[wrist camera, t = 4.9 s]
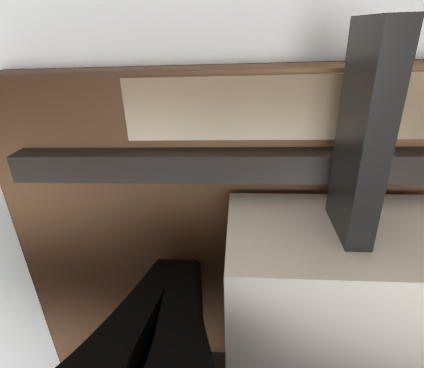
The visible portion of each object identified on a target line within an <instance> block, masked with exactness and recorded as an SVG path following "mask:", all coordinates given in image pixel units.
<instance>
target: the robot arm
mask: <svg viewBox="0 0 424 368" xmlns="http://www.w3.org/2000/svg"><path fill="white" fill-rule="evenodd" d="M55 368H216V366H215V362H214V359H213V356H212V352H211V348H210V345H209V341H208V337H207V333H206V329H205V324H204V320H203V299H202V282H201V266H200V263H199V262H198V261H197V260H181V259H158V260H157V261H156V262H155V263H154V264H153V265H152V266H151V268H150V269H149V270H148V271H147V273H146V274H145V275H144V276H143V278H142V279H141V280H140V281H139V282H138V284H137V285H136V286H135V287H134V288H133V289H132V291H131V292H130V293H129V294H128V295H127V296H126V298H125V299H124V300H123V301H122V302H121V303H120V304H119V305H118V306H117V308H116V309H115V310H114V311H113V312H112V313H111V314H110V315H109V316H108V317H107V318H106V319H105V320H104V321H103V323H102V324H101V325H100V326H99V327H98V328H97V329H96V330H95V331H94V332H93V333H92V334H91V335H90V336H89V337H88V338H87V339H86V340H85V341H84V342H83V343H82V344H81V345H80V346H78V347H77V348H76V349H75V350H74V351H73V352H72V353H71V354H70V355H69V356H68V357H67V358H66V359H64V360H63V361H62V362H61V363H60V364H59V365H58V366H57V367H55Z"/></svg>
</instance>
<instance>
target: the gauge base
mask: <svg viewBox="0 0 424 368" xmlns="http://www.w3.org/2000/svg"><path fill="white" fill-rule="evenodd" d="M344 66H345V61H327V62H287V63H247V64H207V65H167V66H126V67H86V68H46V69H6V70H0V186H1V189H2V192H3V195H4V198H5V201H6V204H7V207H8V210H9V213H10V216H11V219H12V221H13V224H14V227H15V230H16V233H17V236H18V239H19V242H20V245H21V248H22V251H23V254H24V257H25V260H26V263H27V266H28V269H29V272H30V275H31V278H32V281H33V284H34V287H35V290H36V293H37V296H38V298H39V301H40V304H41V307H42V310H43V313H44V316H45V319H46V322H47V325H48V328H49V331H50V334H51V337H52V340H53V343H54V346H55V349H56V352H57V355H58V358H59V361H60V363H61V362H62V361H63V360H64V359H66V358H67V357H68V356H69V355H70V354H71V353H72V352H73V351H74V350H75V349H76V348H77V347H78V346H80V345H81V344H82V343H83V342H84V341H85V340H86V339H87V338H88V337H89V336H90V335H91V334H92V333H93V332H94V331H95V330H96V329H97V328H98V327H99V326H100V325H101V324H102V323H103V321H104V320H105V319H106V318H107V317H108V316H109V315H110V314H111V313H112V312H113V311H114V310H115V309H116V308H117V306H118V305H119V304H120V303H121V302H122V301H123V300H124V299H125V298H126V296H127V295H128V294H129V293H130V292H131V291H132V289H133V288H134V287H135V286H136V285H137V284H138V282H139V281H140V280H141V279H142V278H143V276H144V275H145V274H146V273H147V271H148V270H149V269H150V268H151V266H152V265H153V264H154V263H155V262H156V261H157V260H158V259H181V260H197V261H198V262H199V263H200V266H201V282H202V299H203V320H204V324H205V329H206V333H207V337H208V341H209V345H210V348H211V352H212V356H213V359H214V362H215V366H216V368H226V362H225V312H224V267H225V252H226V238H227V223H228V209H229V194H230V193H279V194H328V187H329V179H330V172H331V164H332V157H333V149H334V142H335V134H336V127H337V119H338V112H339V104H340V96H341V89H342V81H343V74H344ZM385 194H402V195H424V59H414V64H413V68H412V73H411V77H410V82H409V87H408V91H407V96H406V100H405V105H404V110H403V114H402V119H401V124H400V128H399V133H398V137H397V142H396V147H395V151H394V156H393V160H392V165H391V170H390V174H389V179H388V184H387V188H386V193H385Z"/></svg>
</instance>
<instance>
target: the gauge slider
mask: <svg viewBox="0 0 424 368" xmlns="http://www.w3.org/2000/svg"><path fill="white" fill-rule="evenodd" d="M423 17H424V12H398V13H380V14H370V15H360V16H351V21H350V29H349V36H348V44H347V51H346V59H345V66H344V74H343V81H342V89H341V96H340V104H339V112H338V119H337V127H336V134H335V142H334V149H333V157H332V164H331V172H330V179H329V187H328V194H279V193H230V194H229V209H228V223H227V238H226V252H225V267H224V312H225V362H226V368H424V195H402V194H385V193H386V188H387V184H388V179H389V174H390V170H391V165H392V160H393V156H394V151H395V147H396V142H397V137H398V133H399V128H400V124H401V119H402V114H403V110H404V105H405V100H406V96H407V91H408V87H409V82H410V77H411V73H412V68H413V64H414V59H415V54H416V50H417V45H418V41H419V36H420V31H421V27H422V22H423Z"/></svg>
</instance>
